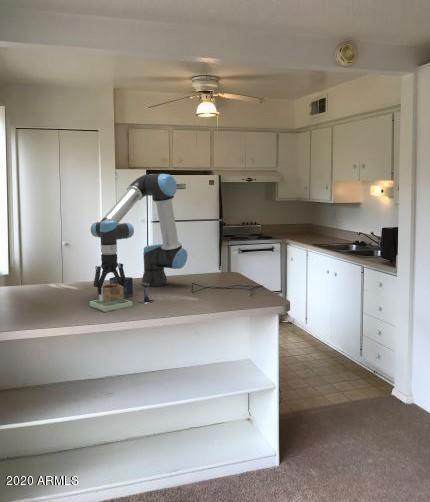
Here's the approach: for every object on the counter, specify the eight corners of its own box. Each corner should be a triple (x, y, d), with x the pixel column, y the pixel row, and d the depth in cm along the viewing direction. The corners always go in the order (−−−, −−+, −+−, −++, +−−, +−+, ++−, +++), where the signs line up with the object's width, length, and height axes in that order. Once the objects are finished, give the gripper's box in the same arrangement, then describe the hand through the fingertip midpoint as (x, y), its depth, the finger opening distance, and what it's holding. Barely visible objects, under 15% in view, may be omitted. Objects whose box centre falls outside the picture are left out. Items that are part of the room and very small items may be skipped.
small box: (133, 296, 270) (133, 277, 268) (127, 299, 264) (127, 279, 262) (116, 295, 273) (115, 275, 272) (109, 298, 267) (108, 278, 265)
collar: (97, 298, 249) (97, 286, 248) (114, 295, 254) (113, 283, 254) (106, 301, 242) (106, 289, 241) (123, 298, 248) (123, 286, 247)
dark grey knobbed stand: (135, 302, 256) (134, 283, 255) (148, 300, 261) (148, 281, 260) (144, 305, 250) (143, 285, 249) (157, 302, 255) (157, 283, 254)
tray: (89, 306, 250) (89, 301, 249) (117, 301, 259) (116, 296, 259) (104, 312, 238) (104, 307, 238) (132, 306, 248) (132, 301, 248)
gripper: (91, 256, 235) (93, 304, 238) (132, 251, 249) (134, 297, 252) (84, 254, 241) (86, 301, 244) (124, 250, 255) (126, 294, 258)
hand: (110, 299), depth 248 cm, fingers closed on collar, 9 cm apart
